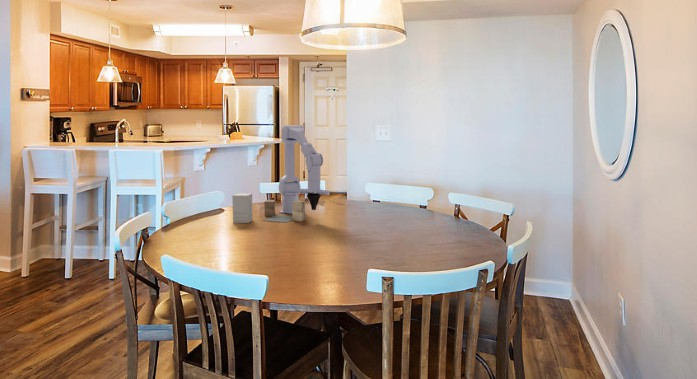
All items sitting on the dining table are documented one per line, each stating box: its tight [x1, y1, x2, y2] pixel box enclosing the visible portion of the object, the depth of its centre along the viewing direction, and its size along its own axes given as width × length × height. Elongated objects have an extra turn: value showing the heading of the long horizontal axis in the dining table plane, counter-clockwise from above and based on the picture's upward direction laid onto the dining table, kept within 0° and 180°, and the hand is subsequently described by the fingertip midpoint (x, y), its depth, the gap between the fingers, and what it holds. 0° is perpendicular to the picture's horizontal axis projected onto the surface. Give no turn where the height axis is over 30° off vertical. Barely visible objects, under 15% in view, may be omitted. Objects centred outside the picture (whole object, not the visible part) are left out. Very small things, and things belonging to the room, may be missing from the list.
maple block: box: [291, 199, 306, 223], centre depth 230 cm, size 4×4×9 cm
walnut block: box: [264, 199, 276, 217], centre depth 243 cm, size 4×4×7 cm
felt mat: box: [262, 214, 292, 224], centre depth 234 cm, size 14×12×1 cm
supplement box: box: [231, 192, 254, 224], centre depth 226 cm, size 7×7×13 cm
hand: (313, 209), depth 228 cm, fingers closed
